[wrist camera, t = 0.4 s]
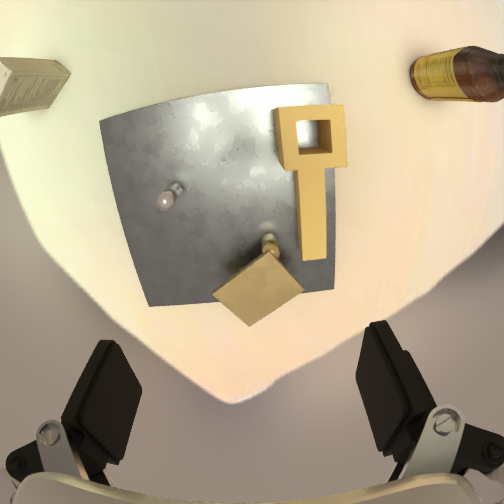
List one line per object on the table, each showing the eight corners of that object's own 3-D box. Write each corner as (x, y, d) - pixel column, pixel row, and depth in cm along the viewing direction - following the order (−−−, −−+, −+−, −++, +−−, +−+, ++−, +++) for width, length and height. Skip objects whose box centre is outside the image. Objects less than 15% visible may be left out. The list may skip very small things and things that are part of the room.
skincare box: (56, 59, 25) (-2, 53, 14) (72, 74, 26) (13, 69, 15) (33, 96, 27) (-25, 102, 16) (48, 111, 28) (-12, 120, 17)
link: (273, 108, 29) (278, 106, 24) (327, 106, 29) (343, 104, 24) (286, 251, 38) (292, 275, 32) (333, 246, 37) (346, 268, 32)
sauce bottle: (446, 71, 26) (555, 72, 8) (437, 108, 29) (551, 127, 11) (410, 48, 25) (520, 26, 7) (401, 86, 28) (517, 84, 10)
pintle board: (101, 120, 30) (77, 123, 24) (326, 84, 28) (341, 78, 23) (152, 311, 43) (142, 335, 38) (332, 294, 42) (342, 318, 36)
